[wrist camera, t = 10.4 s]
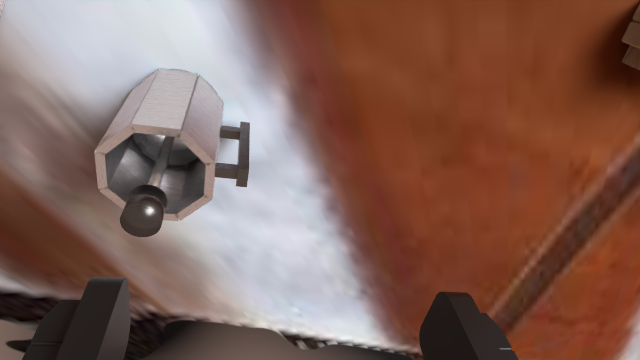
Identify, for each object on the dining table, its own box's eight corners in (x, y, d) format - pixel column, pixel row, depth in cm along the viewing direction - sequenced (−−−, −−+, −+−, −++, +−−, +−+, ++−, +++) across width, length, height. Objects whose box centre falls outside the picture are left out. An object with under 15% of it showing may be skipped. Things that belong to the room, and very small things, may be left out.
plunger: (133, 92, 43) (82, 176, 30) (210, 102, 44) (193, 186, 32) (135, 157, 47) (91, 255, 34) (206, 164, 48) (190, 260, 36)
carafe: (131, 62, 46) (91, 119, 34) (253, 80, 49) (253, 137, 37) (134, 143, 51) (100, 215, 40) (244, 154, 54) (242, 225, 43)
